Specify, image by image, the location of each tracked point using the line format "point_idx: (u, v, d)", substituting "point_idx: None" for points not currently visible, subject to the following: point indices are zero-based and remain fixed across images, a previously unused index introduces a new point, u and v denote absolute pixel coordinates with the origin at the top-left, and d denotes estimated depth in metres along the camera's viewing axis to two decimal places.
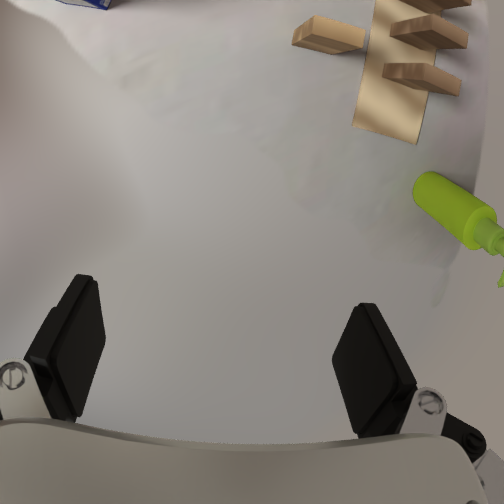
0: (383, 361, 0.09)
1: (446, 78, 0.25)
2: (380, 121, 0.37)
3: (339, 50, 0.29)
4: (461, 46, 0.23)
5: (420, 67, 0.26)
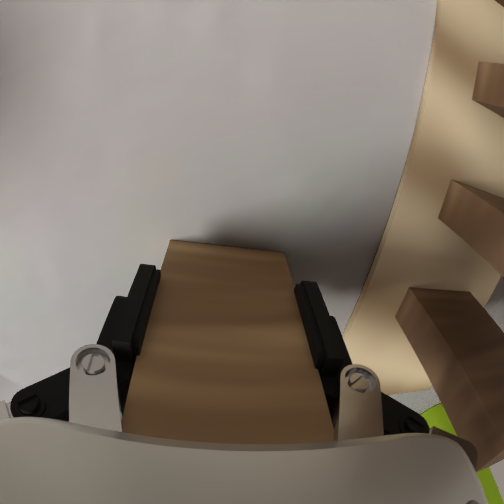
0: (313, 335, 0.09)
1: None
2: None
3: None
4: None
5: (486, 435, 0.08)
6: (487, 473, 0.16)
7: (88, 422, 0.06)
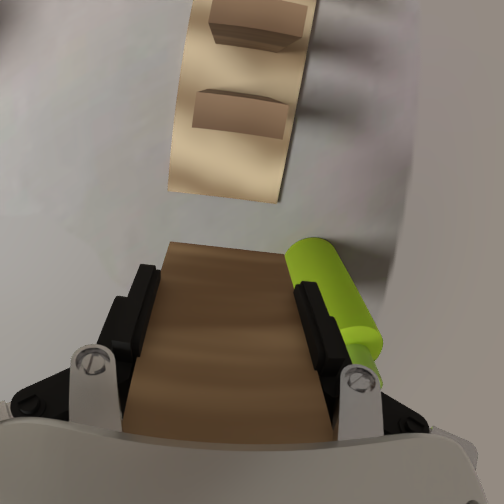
0: (312, 335, 0.09)
1: (248, 110, 0.16)
2: (209, 178, 0.28)
3: None
4: (291, 35, 0.14)
5: None
6: (350, 291, 0.25)
7: (88, 422, 0.06)
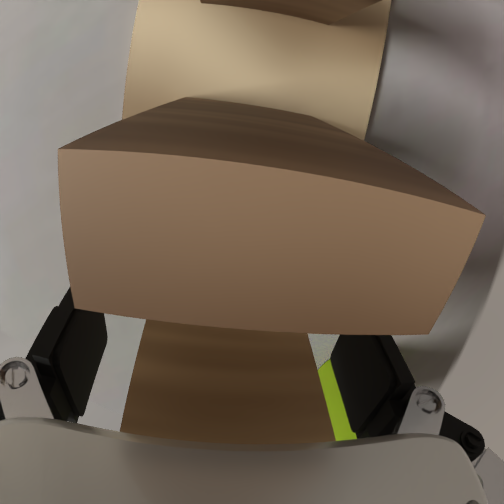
0: (381, 360, 0.09)
1: (330, 240, 0.03)
2: None
3: None
4: None
5: None
6: None
7: None
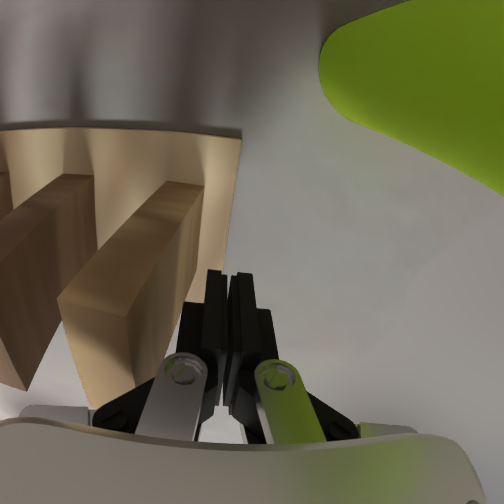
0: (233, 327, 0.09)
1: None
2: None
3: (179, 238, 0.12)
4: None
5: None
6: (417, 20, 0.06)
7: (158, 429, 0.06)
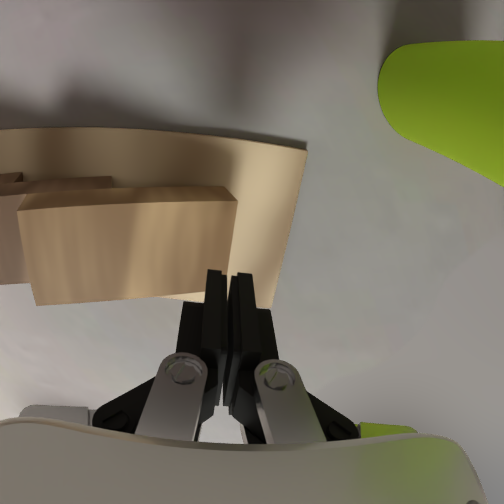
0: (233, 327, 0.09)
1: None
2: (255, 255, 0.19)
3: (132, 215, 0.13)
4: None
5: None
6: (501, 72, 0.06)
7: (158, 428, 0.06)
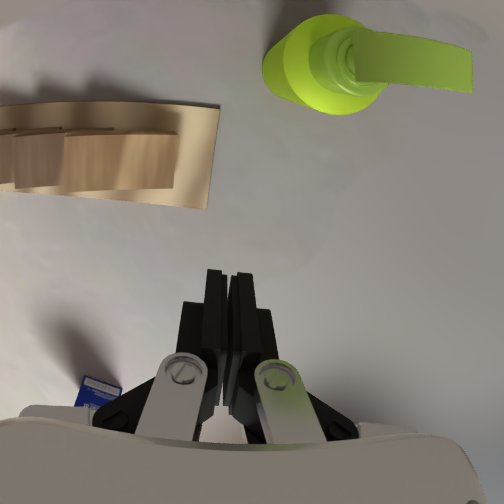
0: (233, 327, 0.09)
1: None
2: (193, 172, 0.30)
3: (123, 140, 0.25)
4: None
5: None
6: (277, 47, 0.18)
7: (158, 428, 0.06)
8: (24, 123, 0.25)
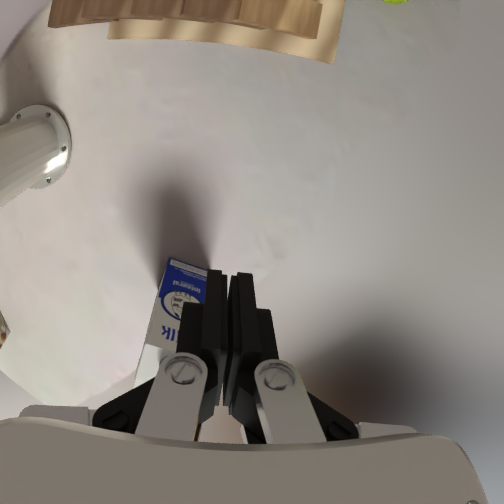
0: (233, 327, 0.09)
1: None
2: (326, 35, 0.33)
3: None
4: None
5: (189, 16, 0.28)
6: None
7: (158, 428, 0.06)
8: None
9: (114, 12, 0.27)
